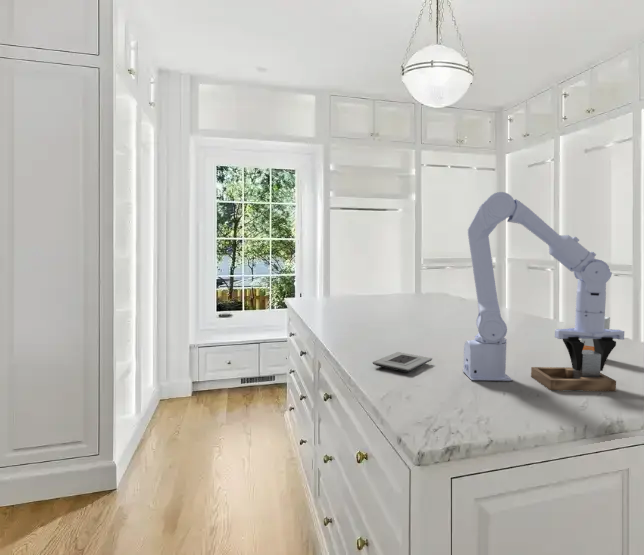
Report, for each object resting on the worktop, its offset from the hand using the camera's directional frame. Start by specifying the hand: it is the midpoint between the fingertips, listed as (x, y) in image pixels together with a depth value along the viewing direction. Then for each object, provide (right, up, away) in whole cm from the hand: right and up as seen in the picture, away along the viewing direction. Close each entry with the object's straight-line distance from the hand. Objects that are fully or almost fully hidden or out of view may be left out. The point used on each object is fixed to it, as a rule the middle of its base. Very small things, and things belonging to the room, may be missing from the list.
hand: (587, 369), depth 101 cm
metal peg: (0, -3, +1) cm, 3 cm away
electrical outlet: (-40, -3, +15) cm, 43 cm away
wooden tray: (-4, -3, 0) cm, 5 cm away
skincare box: (+15, -2, +22) cm, 27 cm away
